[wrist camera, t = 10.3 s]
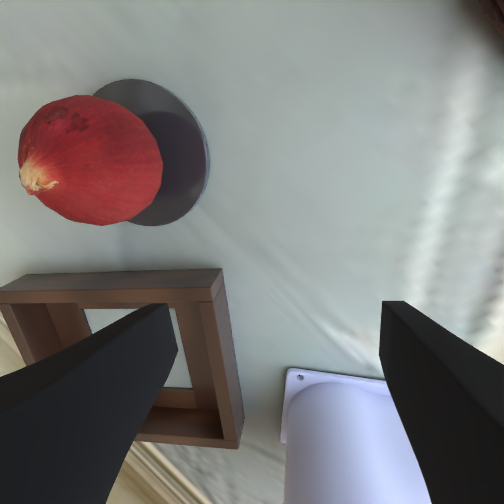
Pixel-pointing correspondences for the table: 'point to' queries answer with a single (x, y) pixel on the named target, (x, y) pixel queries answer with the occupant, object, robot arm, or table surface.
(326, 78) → the table surface
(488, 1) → the brown tall piece
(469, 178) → the table surface
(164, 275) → the tray
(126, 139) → the onion
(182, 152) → the coaster
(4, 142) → the table surface
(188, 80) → the table surface
